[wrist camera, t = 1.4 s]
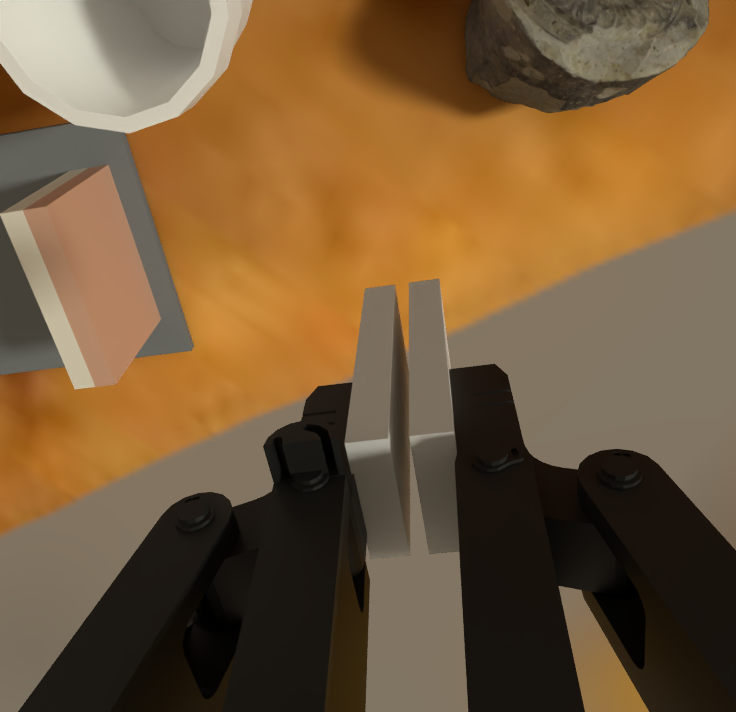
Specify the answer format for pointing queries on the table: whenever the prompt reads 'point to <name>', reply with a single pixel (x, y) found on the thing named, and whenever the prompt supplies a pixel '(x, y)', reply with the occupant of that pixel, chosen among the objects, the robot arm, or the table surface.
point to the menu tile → (85, 273)
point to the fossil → (576, 47)
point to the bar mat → (105, 147)
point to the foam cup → (118, 55)
